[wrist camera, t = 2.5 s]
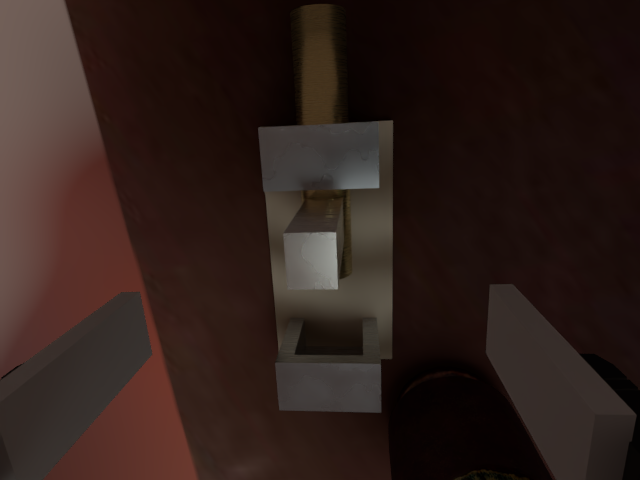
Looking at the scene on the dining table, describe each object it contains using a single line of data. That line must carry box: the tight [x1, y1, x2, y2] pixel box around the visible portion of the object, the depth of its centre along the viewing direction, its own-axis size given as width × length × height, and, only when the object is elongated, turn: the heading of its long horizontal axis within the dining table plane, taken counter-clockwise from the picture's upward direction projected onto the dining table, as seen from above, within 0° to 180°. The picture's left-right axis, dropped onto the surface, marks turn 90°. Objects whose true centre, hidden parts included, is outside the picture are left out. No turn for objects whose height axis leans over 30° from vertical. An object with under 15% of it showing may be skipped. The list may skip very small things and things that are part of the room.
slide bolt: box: [283, 4, 352, 290], centre depth 25 cm, size 18×4×12 cm, turn 3°
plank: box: [265, 120, 393, 359], centre depth 34 cm, size 20×10×1 cm, turn 3°
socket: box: [275, 318, 381, 413], centre depth 32 cm, size 4×7×7 cm, turn 93°
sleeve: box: [258, 121, 379, 192], centre depth 28 cm, size 4×7×6 cm, turn 93°
